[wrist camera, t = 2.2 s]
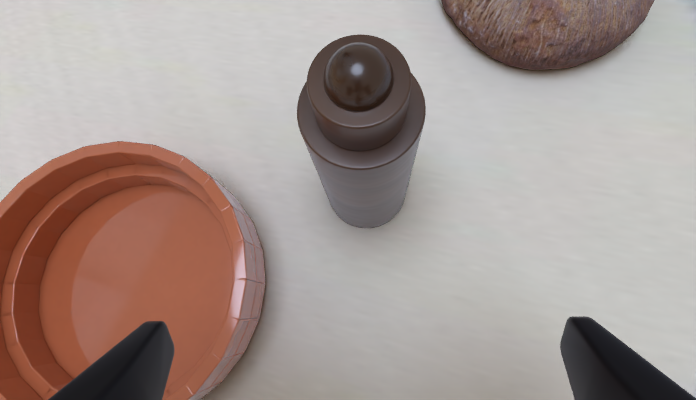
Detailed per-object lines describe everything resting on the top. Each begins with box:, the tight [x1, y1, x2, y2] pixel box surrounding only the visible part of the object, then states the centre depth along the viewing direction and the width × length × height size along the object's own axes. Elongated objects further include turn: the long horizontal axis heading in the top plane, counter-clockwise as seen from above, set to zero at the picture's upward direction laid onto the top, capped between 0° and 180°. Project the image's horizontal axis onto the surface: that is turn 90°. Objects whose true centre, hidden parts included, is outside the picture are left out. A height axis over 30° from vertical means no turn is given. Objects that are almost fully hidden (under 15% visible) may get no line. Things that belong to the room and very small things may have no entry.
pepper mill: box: [297, 35, 426, 228], centre depth 18 cm, size 4×4×13 cm
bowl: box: [0, 141, 266, 400], centre depth 21 cm, size 13×13×4 cm
